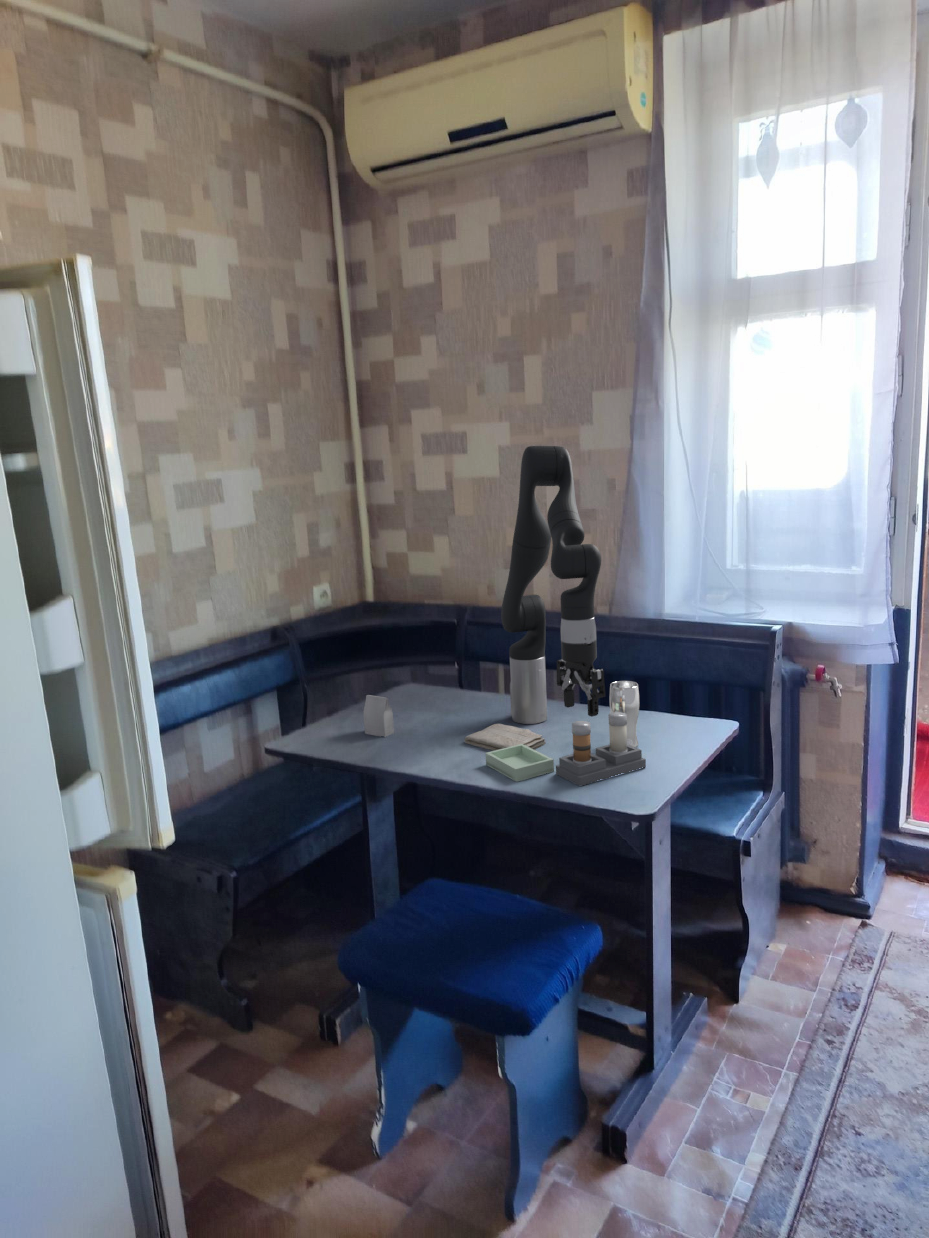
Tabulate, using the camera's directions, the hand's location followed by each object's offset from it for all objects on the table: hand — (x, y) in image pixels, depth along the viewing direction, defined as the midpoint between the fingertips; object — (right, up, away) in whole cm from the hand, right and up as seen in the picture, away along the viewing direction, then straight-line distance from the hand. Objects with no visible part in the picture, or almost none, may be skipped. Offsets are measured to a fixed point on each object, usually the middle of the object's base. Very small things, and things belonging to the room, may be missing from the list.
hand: (581, 711), depth 196 cm
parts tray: (-13, -14, +10) cm, 21 cm away
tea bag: (-47, -10, +40) cm, 63 cm away
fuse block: (+5, -14, +5) cm, 16 cm away
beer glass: (+13, -10, +21) cm, 27 cm away
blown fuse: (+1, -13, +3) cm, 13 cm away
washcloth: (-15, -11, +27) cm, 33 cm away
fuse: (+9, -11, +7) cm, 16 cm away
